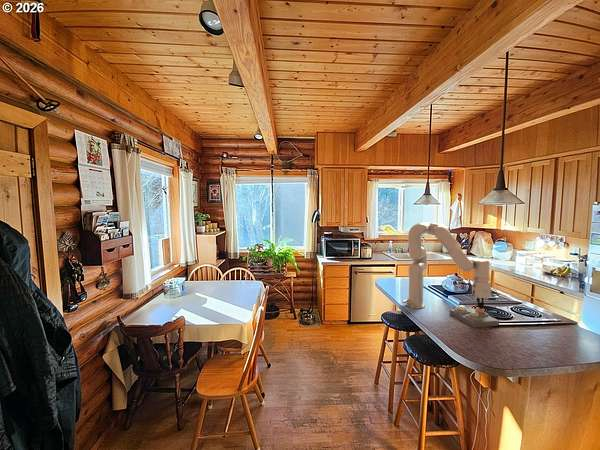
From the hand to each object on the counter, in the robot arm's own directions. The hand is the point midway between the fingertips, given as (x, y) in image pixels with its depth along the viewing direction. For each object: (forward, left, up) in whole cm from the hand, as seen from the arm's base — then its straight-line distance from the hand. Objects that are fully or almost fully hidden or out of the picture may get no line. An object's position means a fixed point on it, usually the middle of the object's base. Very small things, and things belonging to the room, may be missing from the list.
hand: (480, 307), depth 169 cm
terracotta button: (0, 0, -3) cm, 3 cm away
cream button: (-9, +5, -3) cm, 10 cm away
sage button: (-9, -5, -3) cm, 10 cm away
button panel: (-5, 0, -7) cm, 9 cm away
